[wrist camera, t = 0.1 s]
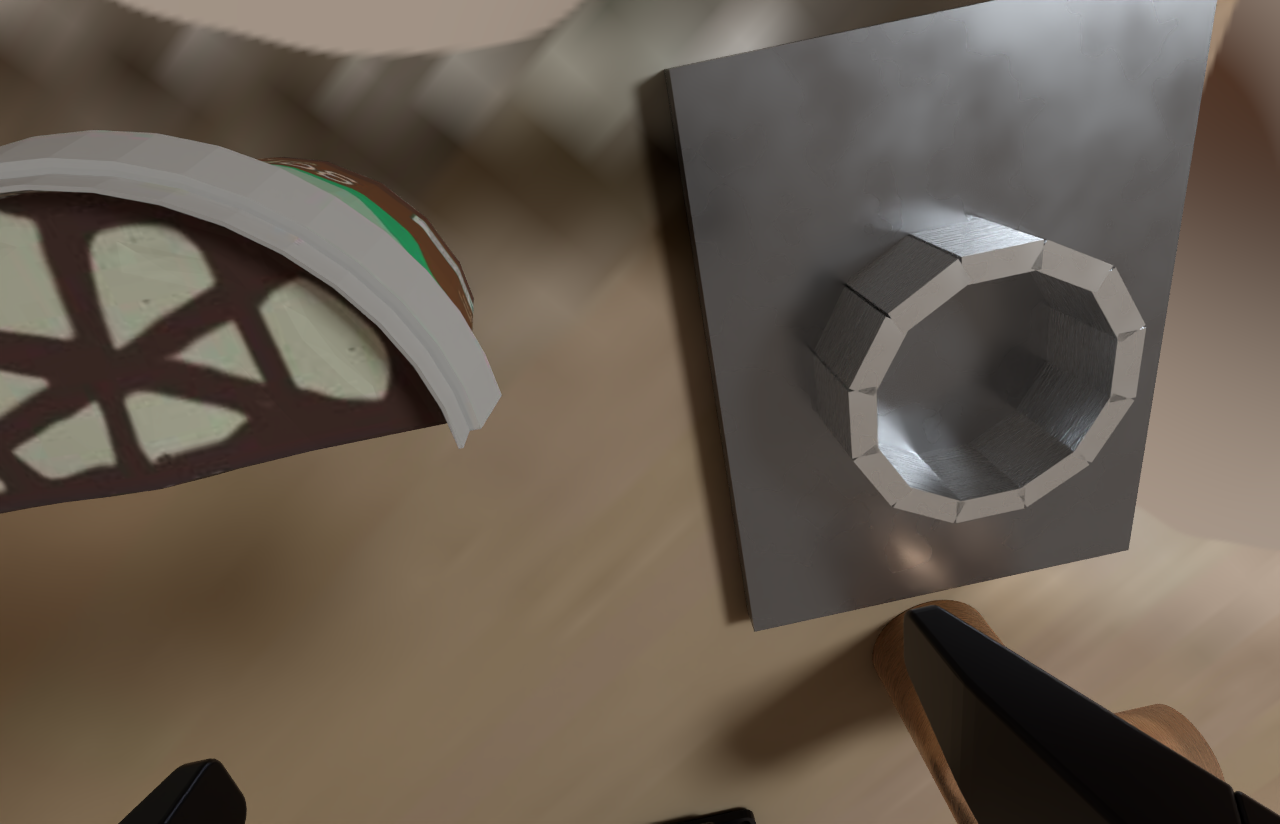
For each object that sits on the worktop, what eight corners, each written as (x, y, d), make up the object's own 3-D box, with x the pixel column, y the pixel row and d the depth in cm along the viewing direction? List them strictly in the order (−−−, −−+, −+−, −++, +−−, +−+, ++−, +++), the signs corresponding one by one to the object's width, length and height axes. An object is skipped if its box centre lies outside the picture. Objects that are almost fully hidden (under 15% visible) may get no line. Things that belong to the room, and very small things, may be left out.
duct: (1110, 534, 28) (1190, 601, 24) (748, 614, 28) (775, 692, 24) (1193, -43, 19) (1338, -70, 16) (664, 69, 19) (687, 67, 15)
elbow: (1051, 659, 31) (1224, 864, 23) (874, 698, 31) (985, 918, 23) (1061, 573, 29) (1255, 766, 21) (870, 614, 29) (991, 824, 21)
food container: (464, 69, 19) (375, 61, 10) (521, 289, 21) (493, 442, 12) (8, 158, 18) (-516, 235, 9) (124, 369, 21) (-197, 583, 12)
